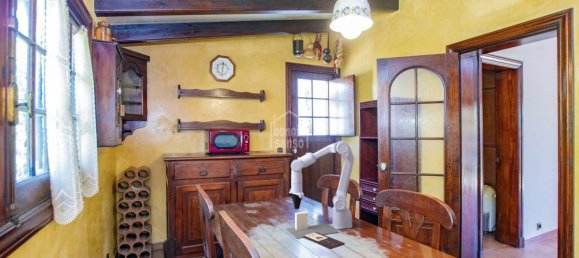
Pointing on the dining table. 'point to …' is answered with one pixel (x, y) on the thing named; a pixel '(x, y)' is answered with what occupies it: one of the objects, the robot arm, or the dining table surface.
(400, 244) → the dining table surface
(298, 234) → the mat
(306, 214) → the tile
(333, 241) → the chocolate bar
